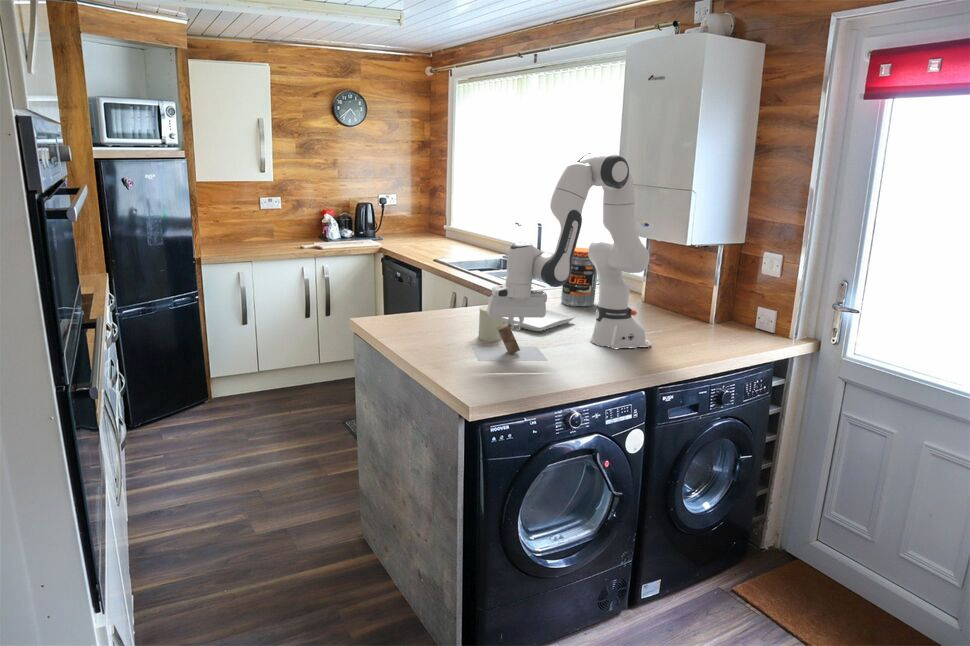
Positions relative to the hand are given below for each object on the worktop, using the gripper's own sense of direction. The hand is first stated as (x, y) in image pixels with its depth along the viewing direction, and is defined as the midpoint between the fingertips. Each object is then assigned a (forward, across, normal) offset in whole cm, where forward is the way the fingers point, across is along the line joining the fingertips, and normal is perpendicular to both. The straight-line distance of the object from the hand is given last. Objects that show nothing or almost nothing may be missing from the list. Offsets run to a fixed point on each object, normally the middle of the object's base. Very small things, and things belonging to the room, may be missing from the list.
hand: (515, 329), depth 231 cm
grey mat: (+9, +2, 0) cm, 9 cm away
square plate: (+10, -16, -43) cm, 47 cm away
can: (+9, +5, -20) cm, 23 cm away
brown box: (+8, 0, 0) cm, 8 cm away
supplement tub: (+9, -47, -77) cm, 91 cm away
